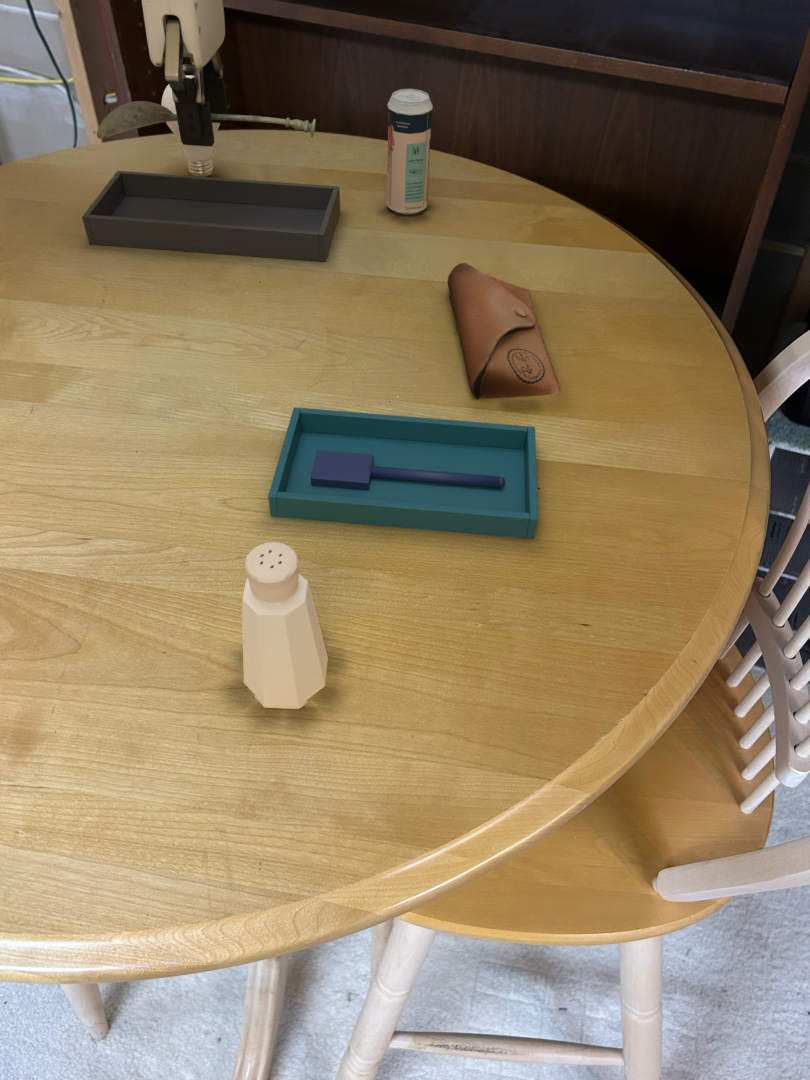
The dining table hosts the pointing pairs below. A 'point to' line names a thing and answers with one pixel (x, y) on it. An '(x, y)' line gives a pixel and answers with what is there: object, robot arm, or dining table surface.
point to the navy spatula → (383, 473)
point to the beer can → (408, 150)
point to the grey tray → (214, 215)
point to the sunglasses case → (499, 337)
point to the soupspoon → (174, 119)
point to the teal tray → (417, 449)
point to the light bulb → (197, 155)
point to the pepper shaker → (280, 630)
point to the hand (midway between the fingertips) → (205, 130)
